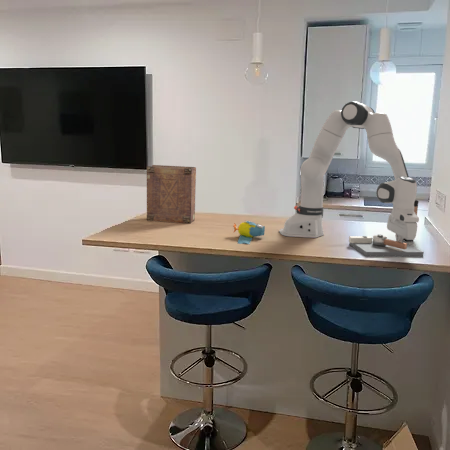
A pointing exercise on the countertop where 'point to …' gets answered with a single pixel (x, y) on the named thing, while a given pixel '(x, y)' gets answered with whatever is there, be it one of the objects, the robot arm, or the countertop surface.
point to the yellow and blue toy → (248, 231)
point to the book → (171, 193)
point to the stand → (381, 248)
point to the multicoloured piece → (387, 242)
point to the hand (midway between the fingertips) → (398, 244)
